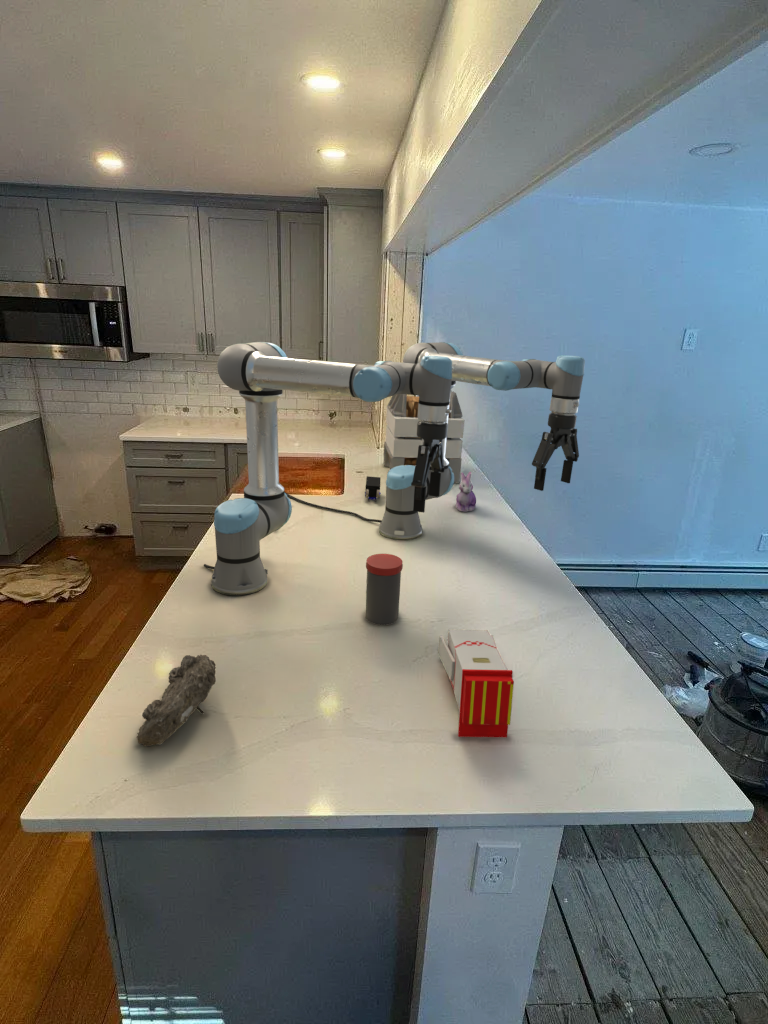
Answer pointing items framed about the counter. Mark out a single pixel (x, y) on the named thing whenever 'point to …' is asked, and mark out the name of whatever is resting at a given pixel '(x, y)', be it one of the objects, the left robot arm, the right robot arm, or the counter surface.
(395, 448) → the white storage crate
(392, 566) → the lid
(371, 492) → the figurine character
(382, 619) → the jar
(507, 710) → the toy
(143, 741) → the fossil
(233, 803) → the counter surface
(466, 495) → the figurine
